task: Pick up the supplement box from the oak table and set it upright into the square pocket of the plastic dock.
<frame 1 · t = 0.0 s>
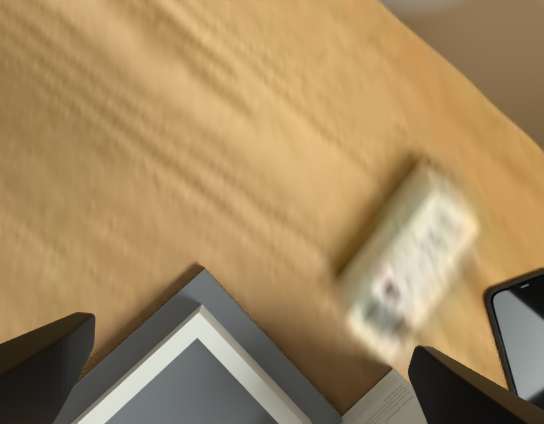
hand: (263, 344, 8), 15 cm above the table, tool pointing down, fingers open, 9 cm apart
smartphone: (534, 356, 27), on the table
dock: (196, 416, 23), on the table
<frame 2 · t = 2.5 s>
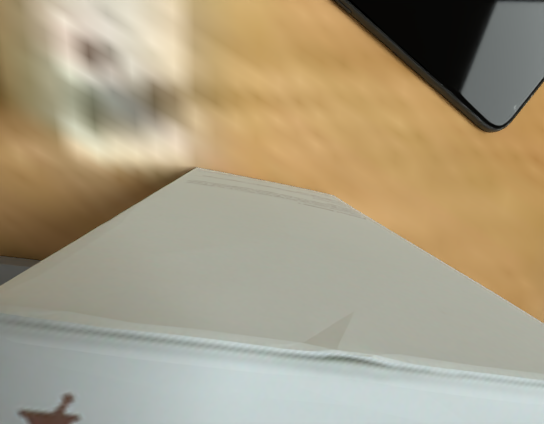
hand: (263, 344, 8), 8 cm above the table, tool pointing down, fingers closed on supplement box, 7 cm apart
supplement box: (253, 247, 16), on the table, touching gripper
dock: (4, 394, 16), on the table
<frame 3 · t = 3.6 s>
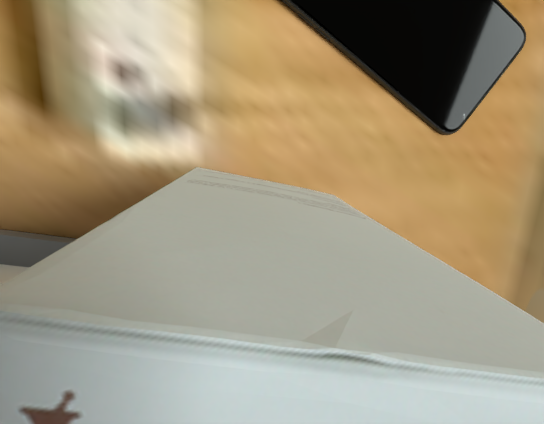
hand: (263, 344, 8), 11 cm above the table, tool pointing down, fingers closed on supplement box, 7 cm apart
smartphone: (393, 11, 17), on the table
supplement box: (254, 247, 16), point 3 cm above the table, touching gripper
dock: (46, 351, 20), on the table
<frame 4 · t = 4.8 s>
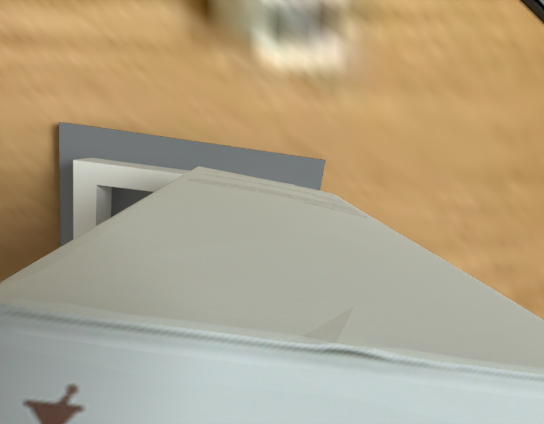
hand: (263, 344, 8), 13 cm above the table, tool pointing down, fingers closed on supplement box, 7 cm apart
supplement box: (255, 246, 16), point 5 cm above the table, touching gripper
dock: (190, 259, 21), on the table
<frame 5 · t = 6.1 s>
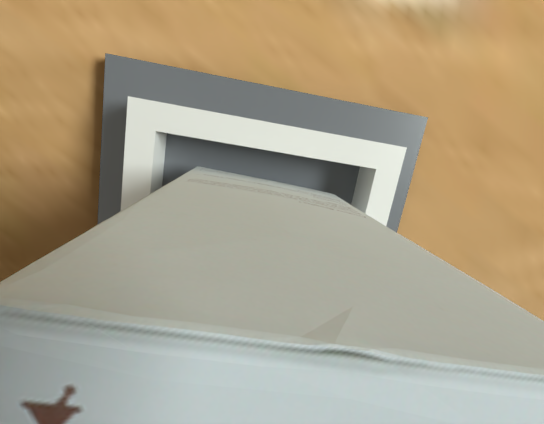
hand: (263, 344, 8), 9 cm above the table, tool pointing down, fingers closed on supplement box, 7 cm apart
supplement box: (254, 246, 16), point 1 cm above the table, touching gripper
dock: (252, 237, 17), on the table
when the fingers open (9 cm above the table, at t = 7.1 s): supplement box stays where it is, resting on dock.
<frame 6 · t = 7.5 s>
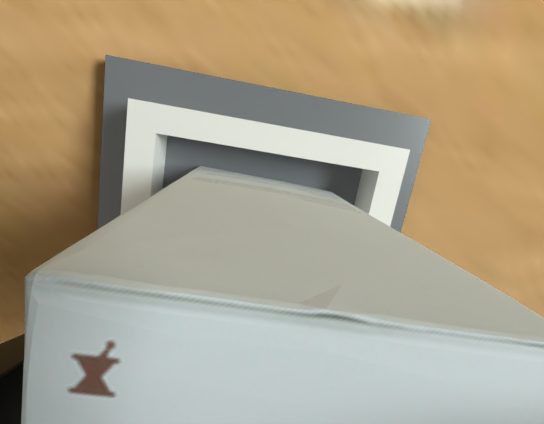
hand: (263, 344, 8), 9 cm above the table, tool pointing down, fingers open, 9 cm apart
supplement box: (255, 243, 17), point 1 cm above the table, touching dock
dock: (253, 240, 17), on the table
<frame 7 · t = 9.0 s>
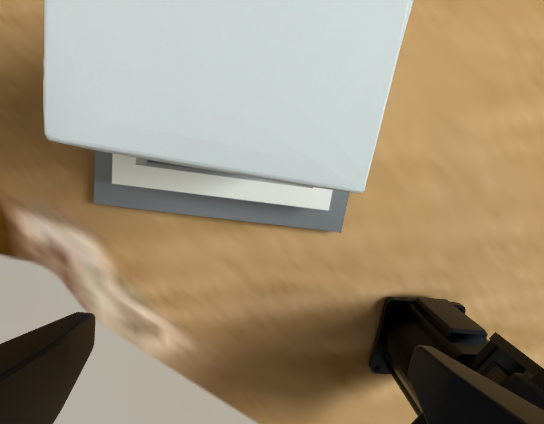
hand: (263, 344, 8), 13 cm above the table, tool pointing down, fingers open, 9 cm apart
supplement box: (240, 89, 18), point 1 cm above the table, touching dock
dock: (238, 91, 19), on the table
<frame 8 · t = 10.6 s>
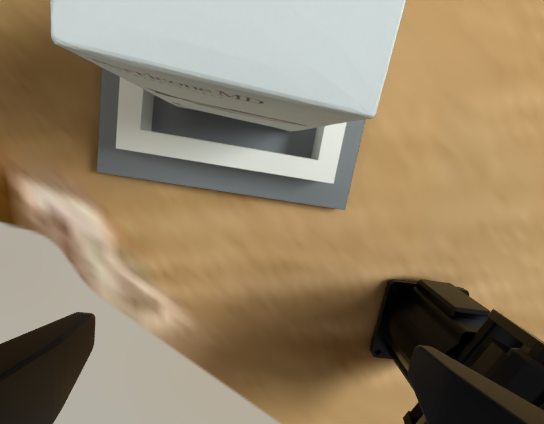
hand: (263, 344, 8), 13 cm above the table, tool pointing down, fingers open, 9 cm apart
supplement box: (247, 60, 18), point 1 cm above the table, touching dock
dock: (245, 63, 19), on the table
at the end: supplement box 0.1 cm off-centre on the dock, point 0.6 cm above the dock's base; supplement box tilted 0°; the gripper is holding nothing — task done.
